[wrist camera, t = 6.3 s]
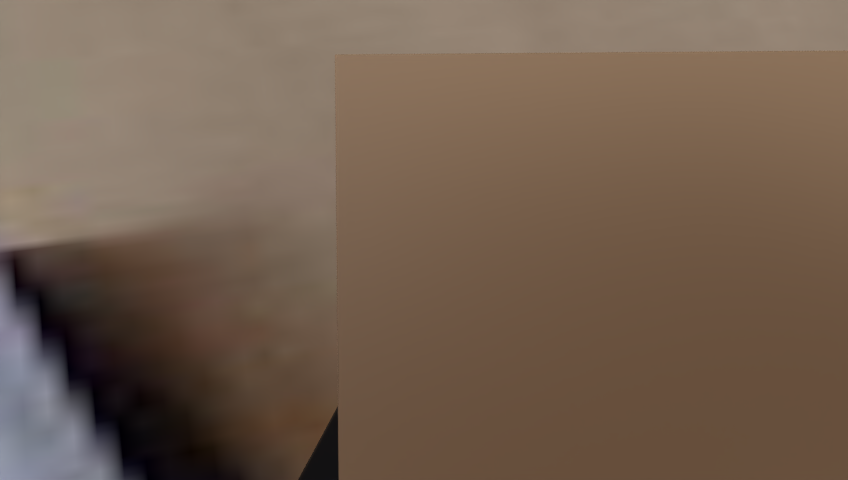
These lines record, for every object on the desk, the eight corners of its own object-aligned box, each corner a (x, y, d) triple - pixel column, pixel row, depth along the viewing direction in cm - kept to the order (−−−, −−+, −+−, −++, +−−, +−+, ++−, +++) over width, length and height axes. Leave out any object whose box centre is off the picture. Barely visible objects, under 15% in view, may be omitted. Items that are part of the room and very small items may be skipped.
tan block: (511, 488, 14) (1138, 1273, 2) (388, 495, 14) (346, 1410, 2) (496, 278, 16) (857, 50, 3) (382, 283, 15) (335, 53, 3)
